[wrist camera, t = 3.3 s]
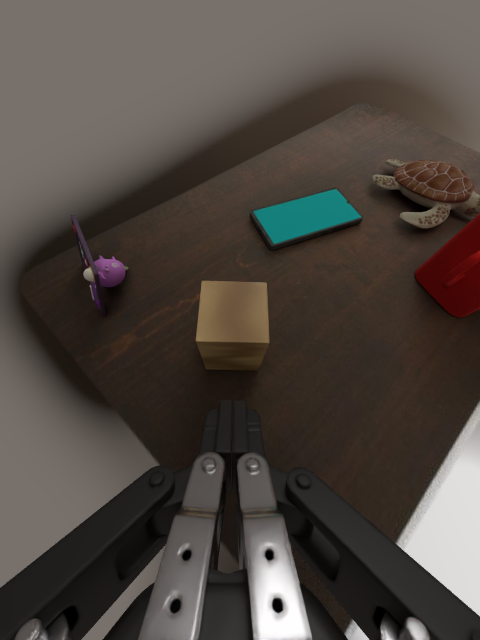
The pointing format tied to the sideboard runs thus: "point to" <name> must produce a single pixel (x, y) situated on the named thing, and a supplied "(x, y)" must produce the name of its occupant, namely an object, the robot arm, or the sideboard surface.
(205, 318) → the beech block
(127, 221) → the sideboard surface
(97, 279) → the purple figure in frame
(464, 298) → the mug
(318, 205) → the smartphone
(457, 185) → the decorative turtle
